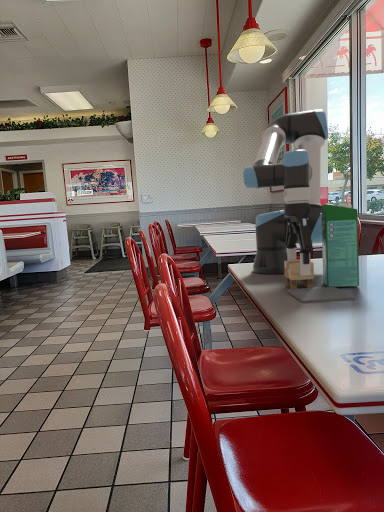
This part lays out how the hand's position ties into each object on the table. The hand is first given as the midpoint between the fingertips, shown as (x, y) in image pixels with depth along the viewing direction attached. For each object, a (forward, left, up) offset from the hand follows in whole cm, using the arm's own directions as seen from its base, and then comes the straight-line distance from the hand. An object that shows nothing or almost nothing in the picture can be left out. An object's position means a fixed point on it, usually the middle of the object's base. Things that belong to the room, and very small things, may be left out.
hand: (298, 271), depth 119 cm
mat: (+12, +2, -5) cm, 13 cm away
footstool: (0, 0, -5) cm, 5 cm away
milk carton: (+1, +13, -5) cm, 14 cm away
